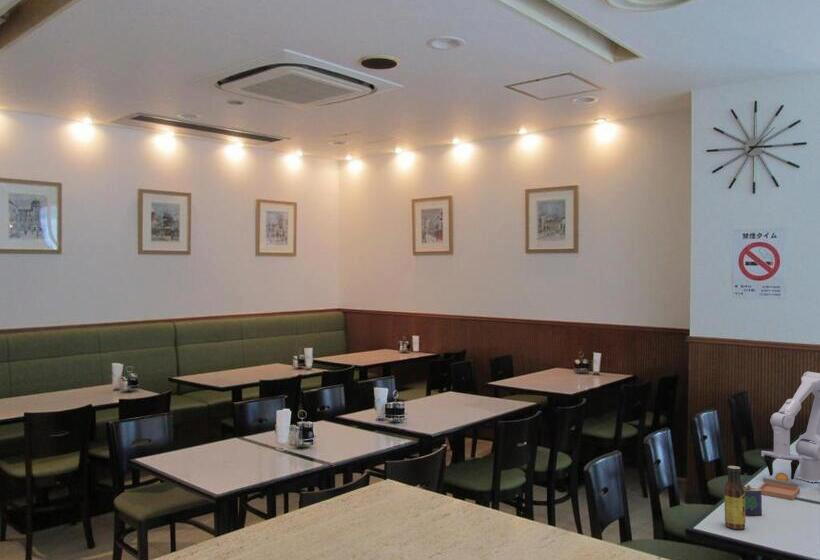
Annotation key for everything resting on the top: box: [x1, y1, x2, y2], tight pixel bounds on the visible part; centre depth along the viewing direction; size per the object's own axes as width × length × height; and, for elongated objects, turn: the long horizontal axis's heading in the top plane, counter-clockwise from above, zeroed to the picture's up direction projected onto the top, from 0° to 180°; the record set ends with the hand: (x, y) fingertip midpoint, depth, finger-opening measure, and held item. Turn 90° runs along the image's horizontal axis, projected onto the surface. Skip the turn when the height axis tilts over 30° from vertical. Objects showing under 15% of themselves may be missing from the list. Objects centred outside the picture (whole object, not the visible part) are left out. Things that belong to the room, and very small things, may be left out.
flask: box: [743, 483, 763, 517], centre depth 234 cm, size 9×3×11 cm, turn 87°
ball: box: [774, 472, 790, 482], centre depth 268 cm, size 5×5×5 cm
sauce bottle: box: [723, 465, 746, 530], centre depth 223 cm, size 6×6×20 cm
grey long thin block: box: [763, 477, 799, 488], centre depth 263 cm, size 1×12×3 cm, turn 49°
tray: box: [756, 481, 801, 501], centre depth 257 cm, size 12×12×2 cm
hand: (781, 476), depth 268 cm, fingers open, 7 cm apart
